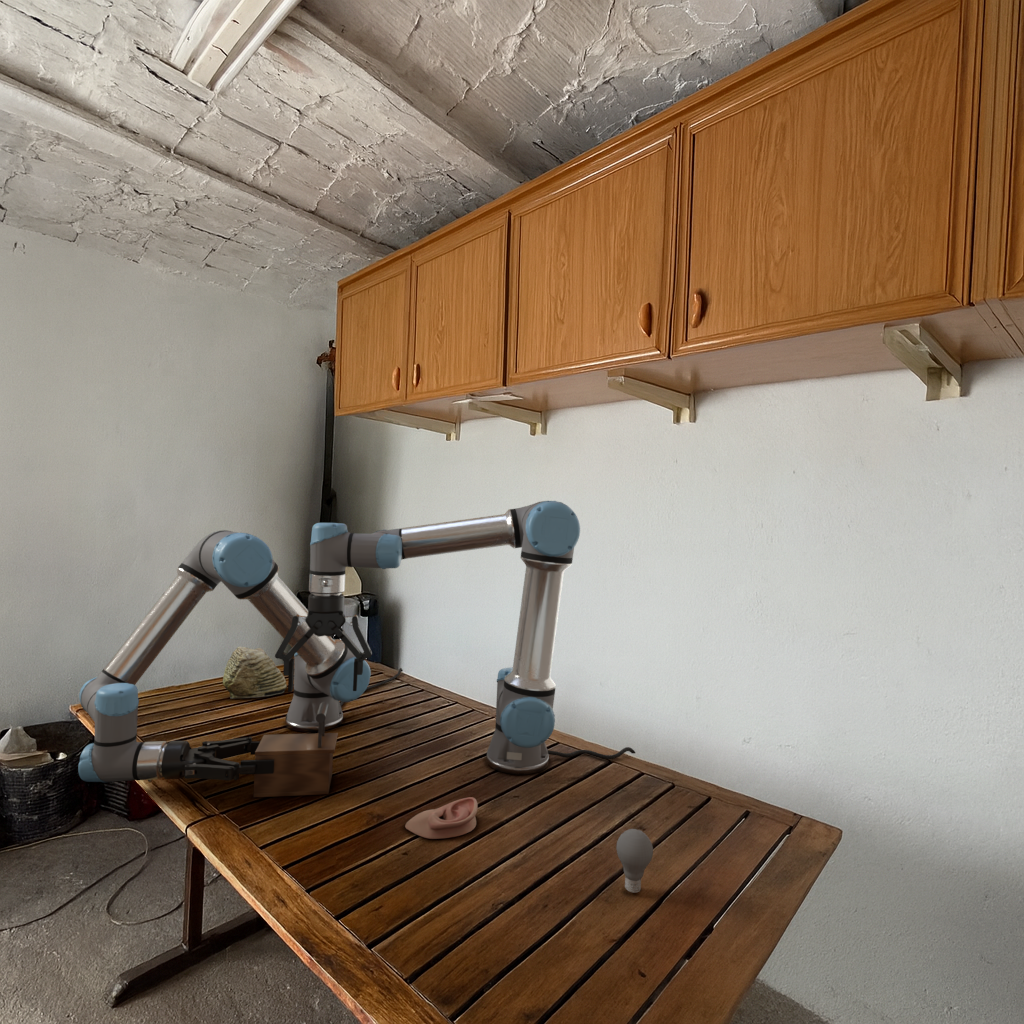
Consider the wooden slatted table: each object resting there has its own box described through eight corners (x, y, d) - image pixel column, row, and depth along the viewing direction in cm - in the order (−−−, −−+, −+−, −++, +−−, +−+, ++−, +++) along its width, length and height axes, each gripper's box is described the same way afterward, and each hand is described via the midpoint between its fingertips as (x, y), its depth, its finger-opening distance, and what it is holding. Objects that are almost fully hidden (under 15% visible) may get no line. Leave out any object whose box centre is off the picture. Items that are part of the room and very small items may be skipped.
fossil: (218, 695, 195) (220, 647, 195) (278, 685, 208) (279, 640, 207) (228, 703, 189) (230, 653, 188) (289, 692, 201) (290, 645, 201)
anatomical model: (399, 813, 120) (420, 787, 131) (398, 834, 120) (419, 806, 131) (467, 823, 117) (482, 796, 128) (466, 845, 117) (481, 815, 128)
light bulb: (610, 879, 108) (613, 822, 108) (644, 879, 109) (647, 822, 109) (619, 902, 102) (622, 840, 102) (655, 901, 103) (658, 840, 103)
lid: (337, 736, 144) (339, 700, 144) (334, 753, 135) (335, 714, 135) (263, 738, 141) (265, 701, 141) (255, 755, 132) (256, 716, 132)
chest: (332, 774, 144) (333, 736, 144) (328, 794, 135) (329, 753, 135) (262, 777, 142) (263, 738, 141) (253, 797, 132) (255, 756, 132)
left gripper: (182, 756, 144) (285, 753, 148) (145, 803, 122) (267, 797, 127) (183, 723, 144) (286, 721, 148) (146, 764, 122) (269, 760, 126)
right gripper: (263, 595, 132) (259, 696, 133) (384, 596, 137) (380, 694, 138) (269, 589, 140) (266, 685, 140) (384, 591, 145) (381, 683, 145)
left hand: (277, 756), depth 137 cm, fingers closed on chest, 10 cm apart
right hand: (323, 689), depth 139 cm, fingers open, 13 cm apart
